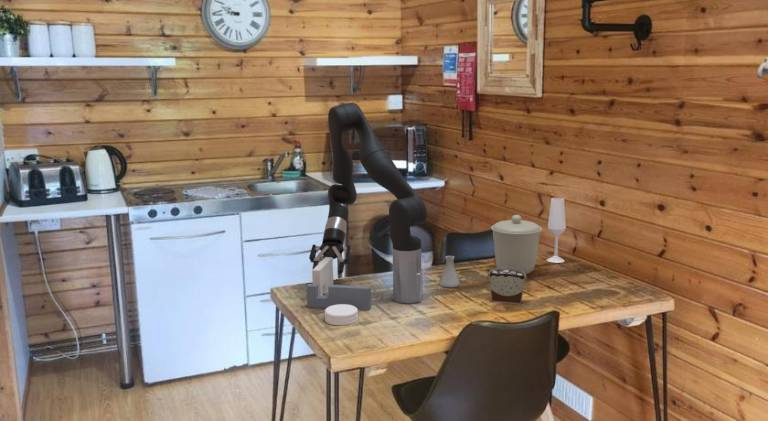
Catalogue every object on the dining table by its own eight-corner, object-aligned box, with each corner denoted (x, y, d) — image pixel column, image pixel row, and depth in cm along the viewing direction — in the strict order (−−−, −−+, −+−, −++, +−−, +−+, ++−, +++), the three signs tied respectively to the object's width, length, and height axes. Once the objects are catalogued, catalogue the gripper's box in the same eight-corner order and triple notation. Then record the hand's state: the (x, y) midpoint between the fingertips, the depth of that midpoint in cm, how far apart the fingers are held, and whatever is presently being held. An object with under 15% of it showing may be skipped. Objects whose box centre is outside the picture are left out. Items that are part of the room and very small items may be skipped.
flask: (436, 287, 240) (436, 258, 238) (442, 280, 247) (442, 253, 245) (456, 289, 238) (457, 260, 236) (462, 283, 244) (462, 255, 242)
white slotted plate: (326, 284, 245) (325, 257, 243) (333, 285, 244) (332, 257, 242) (313, 299, 229) (312, 270, 227) (320, 300, 229) (319, 270, 227)
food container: (528, 298, 227) (529, 268, 225) (525, 304, 221) (526, 274, 219) (490, 295, 231) (491, 265, 229) (487, 301, 225) (487, 271, 223)
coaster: (360, 324, 207) (360, 313, 207) (327, 327, 205) (326, 316, 205) (355, 313, 217) (354, 302, 216) (322, 316, 215) (322, 305, 214)
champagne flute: (565, 258, 272) (567, 197, 267) (563, 263, 266) (565, 200, 261) (548, 257, 274) (549, 196, 269) (545, 261, 268) (547, 200, 263)
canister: (503, 262, 269) (504, 208, 265) (548, 269, 258) (550, 213, 254) (481, 273, 254) (482, 216, 250) (527, 281, 244) (529, 222, 240)
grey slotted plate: (371, 307, 221) (370, 286, 219) (369, 310, 218) (368, 288, 217) (309, 304, 225) (308, 283, 223) (307, 307, 222) (306, 286, 221)
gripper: (313, 226, 248) (304, 266, 239) (352, 227, 245) (345, 268, 236) (317, 237, 254) (309, 277, 245) (356, 238, 251) (349, 279, 242)
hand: (327, 273), depth 241 cm, fingers open, 8 cm apart
